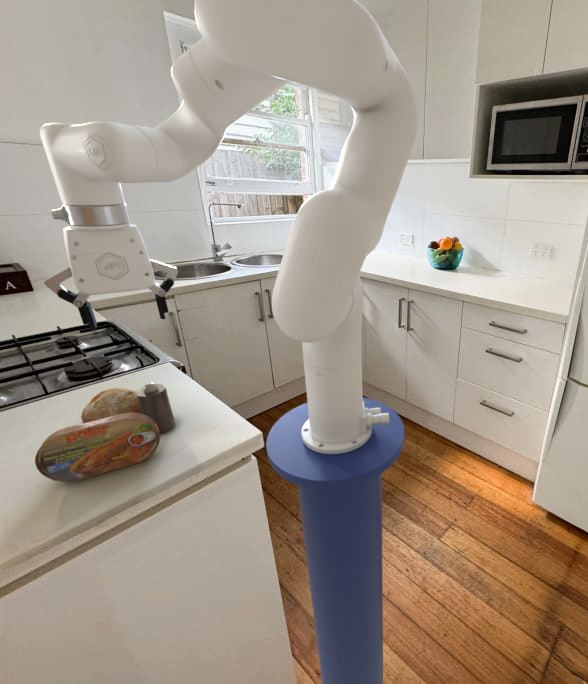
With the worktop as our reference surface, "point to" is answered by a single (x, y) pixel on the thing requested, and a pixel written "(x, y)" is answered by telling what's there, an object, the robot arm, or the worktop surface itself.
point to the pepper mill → (156, 405)
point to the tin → (97, 447)
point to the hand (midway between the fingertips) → (129, 322)
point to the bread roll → (111, 404)
